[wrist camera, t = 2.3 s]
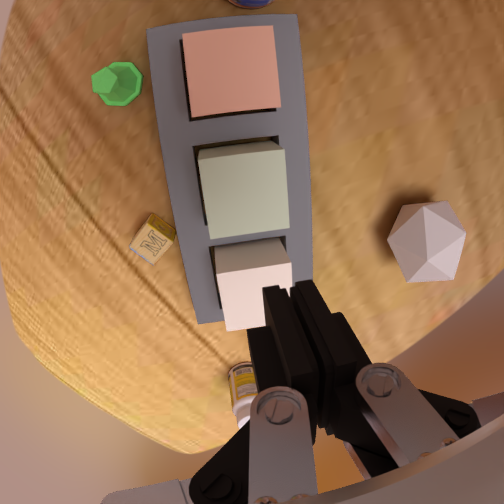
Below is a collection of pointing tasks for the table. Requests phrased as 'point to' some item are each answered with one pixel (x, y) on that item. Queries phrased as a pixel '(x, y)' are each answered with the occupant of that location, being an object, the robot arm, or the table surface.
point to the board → (226, 129)
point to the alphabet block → (153, 239)
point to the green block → (244, 188)
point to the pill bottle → (251, 3)
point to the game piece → (118, 83)
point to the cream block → (250, 279)
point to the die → (427, 241)
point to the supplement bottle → (242, 391)
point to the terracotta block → (231, 70)
